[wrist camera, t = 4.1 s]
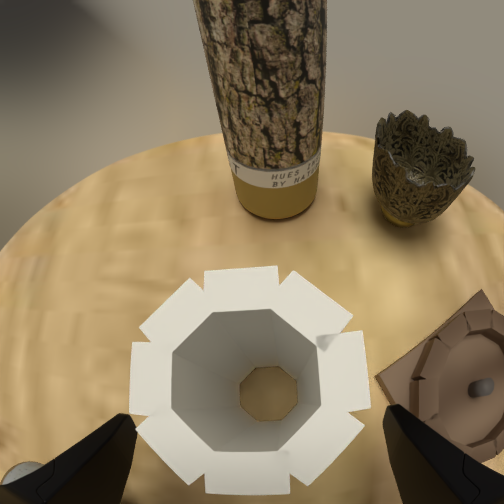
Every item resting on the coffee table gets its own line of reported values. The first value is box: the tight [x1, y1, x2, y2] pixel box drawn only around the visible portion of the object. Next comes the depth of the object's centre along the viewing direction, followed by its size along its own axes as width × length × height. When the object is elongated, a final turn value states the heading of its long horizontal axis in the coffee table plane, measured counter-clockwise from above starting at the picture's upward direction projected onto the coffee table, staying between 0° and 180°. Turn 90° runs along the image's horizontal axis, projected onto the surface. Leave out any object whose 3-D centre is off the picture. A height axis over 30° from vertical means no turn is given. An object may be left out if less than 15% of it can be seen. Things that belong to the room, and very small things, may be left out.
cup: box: [372, 110, 475, 228], centre depth 19 cm, size 8×7×8 cm
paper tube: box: [193, 0, 327, 219], centre depth 14 cm, size 7×7×25 cm
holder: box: [375, 289, 504, 463], centre depth 13 cm, size 11×11×3 cm
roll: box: [129, 266, 371, 495], centre depth 12 cm, size 6×6×12 cm
